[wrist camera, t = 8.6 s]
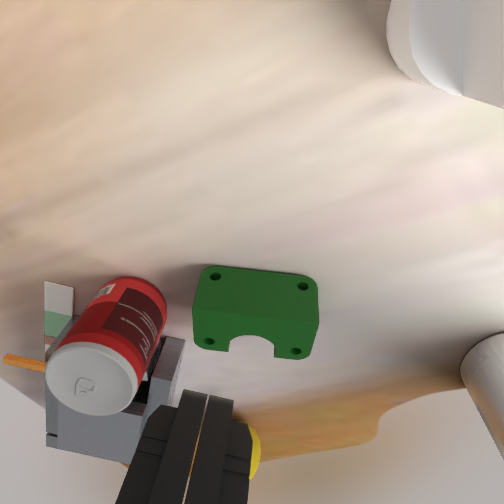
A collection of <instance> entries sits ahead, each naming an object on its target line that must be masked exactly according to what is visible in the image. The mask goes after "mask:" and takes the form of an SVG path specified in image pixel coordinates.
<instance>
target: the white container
mask: <svg viewBox="0 0 504 504" xmlns="http://www.w3.org/2000/svg"><path fill="white" fill-rule="evenodd" d="M386 38H387V42H388V47H389V51H390V54H391V56H392V58H393V60H394V62H395V63H396V65H397V67H398V68H399V69H400V70H401V71H402V72H403V73H404V74H405V75H406V76H407V77H408V78H410V79H412V80H414V81H416V82H418V83H420V84H422V85H425V86H428V87H431V88H434V89H437V90H440V91H443V92H447V93H450V94H455V95H461V96H465V97H469V98H472V99H475V100H478V101H481V102H484V103H487V104H490V105H494V106H497V107H500V108H503V109H504V0H391V4H390V8H389V12H388V16H387V29H386Z"/></svg>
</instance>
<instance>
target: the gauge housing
mask: <svg viewBox="0 0 504 504" xmlns="http://www.w3.org/2000/svg"><path fill="white" fill-rule="evenodd" d="M79 317H80V316H78V315H73V317H72V318H71V319H70V321H69V322H68V323H67V325H66V326H65V327H64V329H63V330H62V331H61V332H60V334H59V335H58V336H57V338H56V339H55V340H54V342H53V343H52V344H51V346H50V347H49V348H48V349H47V351H46V352H45V362H46V363H47V362H48V361H49V358H50V357H51V355H52V354H53V352H54V351H55V350H56V348H57V347H58V345H59V344H60V342H61V341H62V340H63V338H64V337H65V336H66V334H67V333H68V332H69V330H70V329H71V328H72V326H73V325H74V324H75V322H76V321H77V320H78V318H79ZM184 344H185V340H180V339H176V338H172V337H167V339H166V341H165V344H164V346H163V349H162V352H161V354H160V357H159V359H158V362H157V364H156V367H155V369H154V372H153V374H152V377H151V383H150V389H149V395H148V401H147V404H143V403H139V402H134V401H131V403H130V404H129V405H128V406H127V407H126V408H125V409H123V410H122V411H120V412H118V413H115V414H111V415H105V416H95V415H88V414H84V413H80V412H78V411H75V410H73V409H71V408H69V407H67V406H65V405H64V404H63V403H61V402H60V401H59V400H58V399H57V398H56V397H55V396H54V395H53V394H52V393H51V391H50V390H49V388H48V386H47V384H46V432H48V433H47V435H46V446H48V447H52V448H57V449H62V450H66V451H71V452H75V453H80V454H84V455H89V456H94V457H98V458H103V459H107V460H112V461H117V462H121V463H126V464H131V461H132V458H133V456H134V454H135V451H136V448H137V445H138V443H139V440H140V438H141V435H142V432H143V429H144V427H145V424H146V422H147V419H148V417H149V416H150V415H151V414H152V413H153V412H154V411H155V410H156V409H157V408H158V407H159V406H160V405H161V404H162V405H166V406H172V401H173V396H174V391H175V387H176V382H177V377H178V372H179V367H180V363H181V358H182V353H183V348H184Z"/></svg>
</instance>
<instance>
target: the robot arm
mask: <svg viewBox="0 0 504 504" xmlns="http://www.w3.org/2000/svg"><path fill="white" fill-rule="evenodd" d="M460 372H461V378H462V380H463V382H464V384H465V386H466V388H467V390H468V392H469V394H470V396H471V398H472V400H473V402H474V403H475V405H476V407H477V410H478V411H479V413H480V415H481V417H482V419H483V421H484V423H485V425H486V427H487V429H488V431H489V432H490V434H491V436H492V438H493V440H494V442H495V444H496V446H497V448H498V450H499V452H500V454H501V456H502V458H503V459H504V333H502V334H498V335H494V336H492V337H489V338H487V339H485V340H483V341H481V342H480V343H478V344H477V345H475V346H474V347H473V348H472V349H471V350H470V351H469V352H468V353H467V354H466V356H465V357H464V359H463V361H462V364H461V368H460ZM207 395H208V394H203V393H199V392H194V391H190V390H185V389H184V390H183V393H182V396H181V399H180V402H179V406H178V408H175V407H171V406H166V405H162V404H161V405H160V406H159V407H158V408H157V409H156V410H155V411H154V412H153V413H152V414H151V415H150V416H149V417H148V419H147V422H146V424H145V427H144V429H143V432H142V435H141V438H140V440H139V443H138V445H137V448H136V451H135V454H134V456H133V458H132V461H131V464H130V466H129V469H128V472H127V475H126V477H125V479H124V482H123V485H122V487H121V490H120V492H119V495H118V498H117V500H116V503H115V504H182V501H183V497H184V493H185V489H186V485H187V480H188V476H189V472H190V468H191V463H192V459H193V455H194V451H195V446H196V442H197V438H198V434H199V429H200V425H201V421H202V417H203V412H204V408H205V404H206V400H207ZM233 403H234V400H230V399H226V398H221V397H217V396H213V395H210V396H209V400H208V405H207V409H206V413H205V417H204V421H203V425H202V429H201V434H200V438H199V442H198V446H197V451H196V455H195V459H194V464H193V468H192V472H191V477H190V481H189V486H188V490H187V494H186V499H185V503H184V504H247V500H248V490H249V476H250V468H251V457H252V447H253V440H252V436H251V433H250V430H249V427H248V424H247V423H242V422H238V421H234V420H231V416H232V410H233Z"/></svg>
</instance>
